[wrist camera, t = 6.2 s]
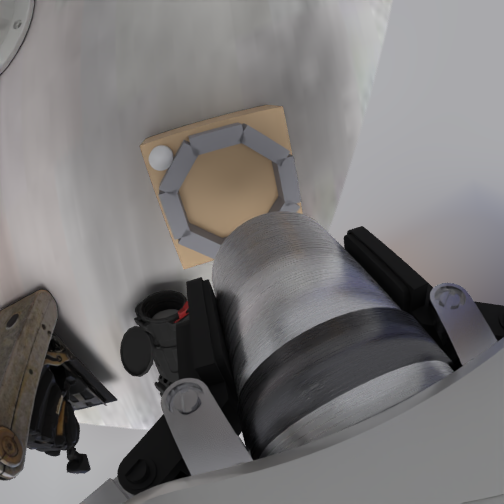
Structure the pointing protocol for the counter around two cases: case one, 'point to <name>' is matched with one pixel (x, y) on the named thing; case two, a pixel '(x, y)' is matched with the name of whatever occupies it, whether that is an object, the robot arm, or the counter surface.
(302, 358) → the lens
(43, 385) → the vintage camera
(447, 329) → the robot arm
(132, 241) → the counter surface
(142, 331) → the night vision scope
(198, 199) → the mount
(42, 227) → the counter surface
